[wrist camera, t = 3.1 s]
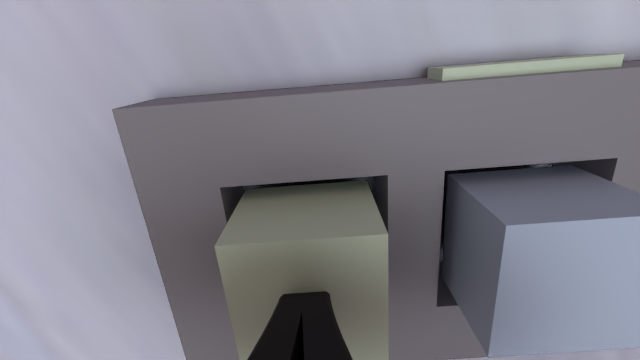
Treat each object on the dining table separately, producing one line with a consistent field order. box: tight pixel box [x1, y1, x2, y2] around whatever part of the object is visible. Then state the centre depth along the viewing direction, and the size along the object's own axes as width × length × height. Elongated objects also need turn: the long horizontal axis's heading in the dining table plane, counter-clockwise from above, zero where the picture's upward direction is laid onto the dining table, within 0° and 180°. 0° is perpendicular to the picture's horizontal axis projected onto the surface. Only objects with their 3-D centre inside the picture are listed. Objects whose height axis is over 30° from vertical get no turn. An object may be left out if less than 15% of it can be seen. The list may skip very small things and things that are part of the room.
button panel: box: [112, 54, 640, 360], centre depth 14 cm, size 12×28×3 cm, turn 94°
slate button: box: [441, 165, 640, 357], centre depth 12 cm, size 5×5×4 cm
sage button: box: [214, 180, 389, 360], centre depth 12 cm, size 5×5×4 cm
